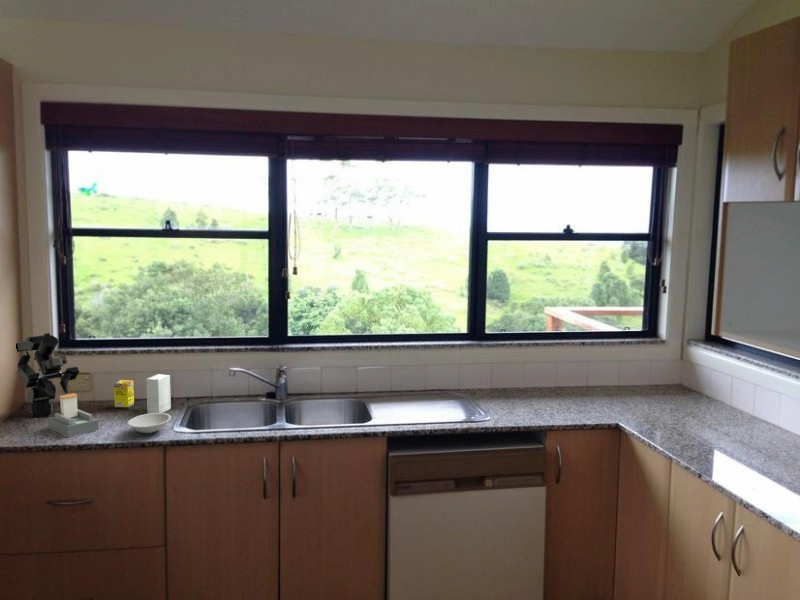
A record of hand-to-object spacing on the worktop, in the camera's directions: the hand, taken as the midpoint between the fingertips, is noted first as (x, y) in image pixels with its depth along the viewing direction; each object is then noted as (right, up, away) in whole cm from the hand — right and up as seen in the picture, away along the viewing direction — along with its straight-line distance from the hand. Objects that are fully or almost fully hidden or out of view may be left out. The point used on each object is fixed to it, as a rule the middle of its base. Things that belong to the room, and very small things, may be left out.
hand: (59, 394), depth 246 cm
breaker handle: (+6, -8, -4) cm, 11 cm away
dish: (+38, -13, -8) cm, 41 cm away
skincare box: (+31, -10, +19) cm, 38 cm away
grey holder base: (+8, -12, -5) cm, 16 cm away
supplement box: (+14, -9, +25) cm, 30 cm away
